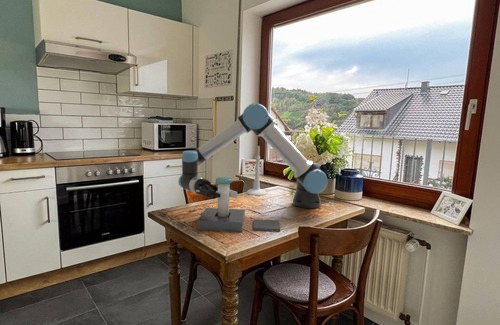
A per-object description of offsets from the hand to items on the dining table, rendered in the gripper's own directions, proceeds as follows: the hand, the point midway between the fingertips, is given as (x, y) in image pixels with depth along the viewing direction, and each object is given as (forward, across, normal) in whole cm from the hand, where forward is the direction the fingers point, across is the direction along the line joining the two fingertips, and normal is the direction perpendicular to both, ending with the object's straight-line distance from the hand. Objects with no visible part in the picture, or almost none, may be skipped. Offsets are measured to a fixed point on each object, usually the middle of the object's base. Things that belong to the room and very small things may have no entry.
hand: (231, 196), depth 123 cm
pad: (+8, -13, -13) cm, 20 cm away
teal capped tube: (-5, 0, -10) cm, 12 cm away
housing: (-6, 0, -13) cm, 15 cm away
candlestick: (-38, -50, -14) cm, 64 cm away
